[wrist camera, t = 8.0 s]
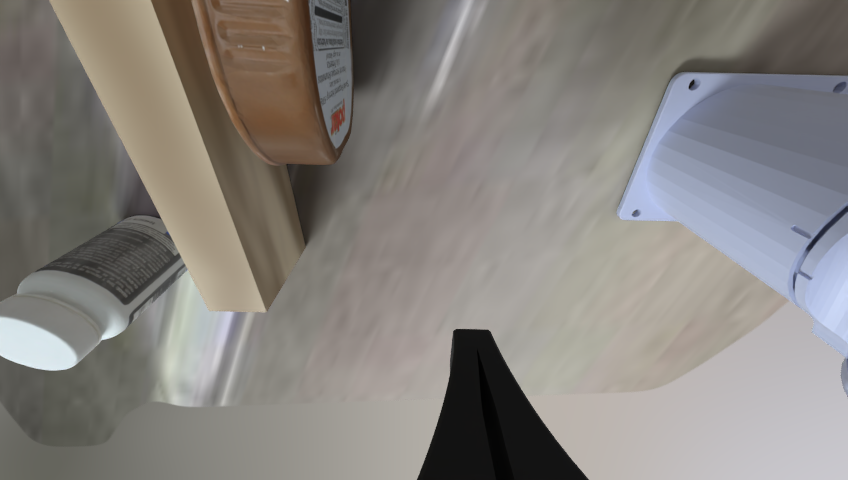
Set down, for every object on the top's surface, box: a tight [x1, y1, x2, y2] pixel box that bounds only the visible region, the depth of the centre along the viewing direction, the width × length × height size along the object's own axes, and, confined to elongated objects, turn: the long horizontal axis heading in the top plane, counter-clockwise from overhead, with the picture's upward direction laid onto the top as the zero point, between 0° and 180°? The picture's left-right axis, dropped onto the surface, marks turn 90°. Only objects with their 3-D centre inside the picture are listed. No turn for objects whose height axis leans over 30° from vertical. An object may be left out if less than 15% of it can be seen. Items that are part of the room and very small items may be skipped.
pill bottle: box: [0, 215, 188, 370], centre depth 17 cm, size 5×5×8 cm
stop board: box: [49, 0, 306, 312], centre depth 12 cm, size 3×24×6 cm, turn 179°
